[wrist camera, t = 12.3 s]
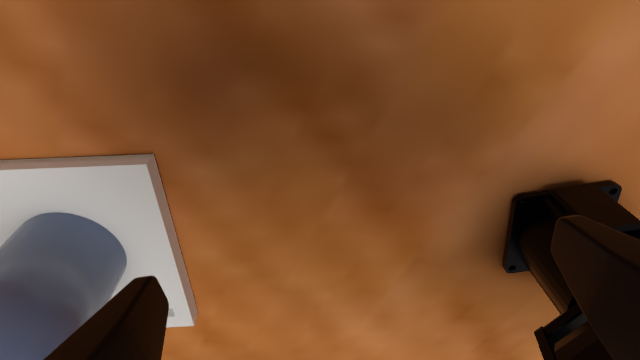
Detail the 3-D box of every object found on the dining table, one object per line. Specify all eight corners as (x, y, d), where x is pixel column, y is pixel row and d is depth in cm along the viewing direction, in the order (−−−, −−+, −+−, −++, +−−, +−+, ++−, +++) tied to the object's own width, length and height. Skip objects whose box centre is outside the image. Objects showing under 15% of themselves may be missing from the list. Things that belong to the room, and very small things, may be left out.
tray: (153, 153, 21) (146, 164, 20) (197, 312, 28) (194, 325, 27) (-90, 163, 21) (-110, 174, 20) (15, 321, 28) (5, 335, 27)
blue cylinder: (148, 259, 25) (30, 514, 13) (83, 303, 26) (-70, 562, 15) (59, 193, 22) (-186, 449, 11) (-8, 248, 23) (-281, 518, 12)
